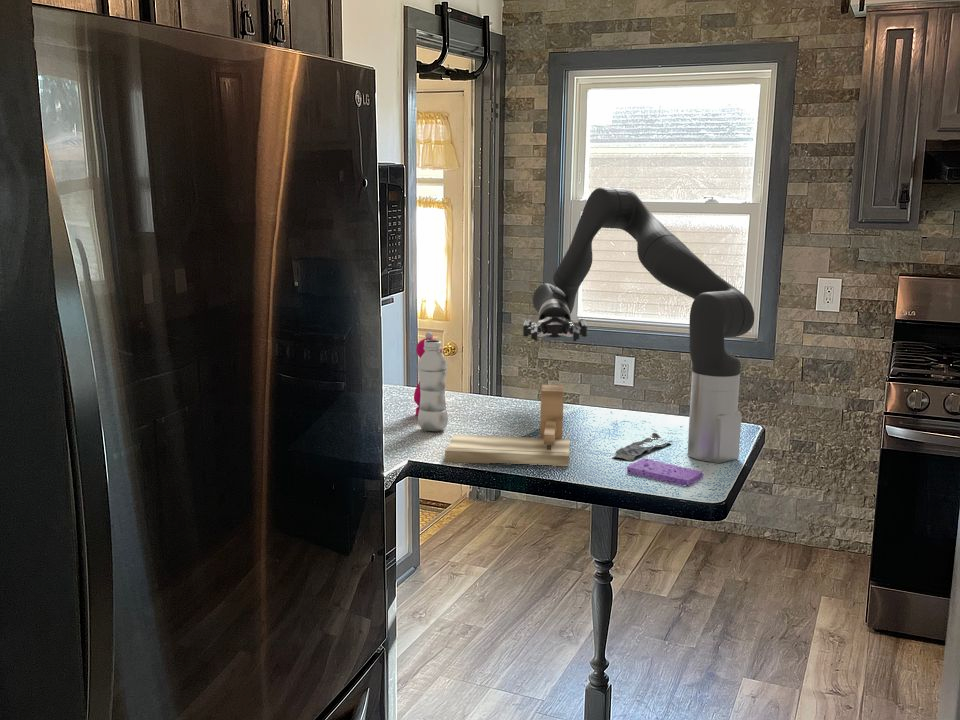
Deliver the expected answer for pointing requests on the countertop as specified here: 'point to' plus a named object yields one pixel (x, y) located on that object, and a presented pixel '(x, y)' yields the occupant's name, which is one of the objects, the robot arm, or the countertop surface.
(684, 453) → the countertop surface
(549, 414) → the block
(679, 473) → the sponges
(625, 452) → the driftwood
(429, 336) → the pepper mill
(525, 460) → the pine board
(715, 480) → the countertop surface
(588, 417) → the countertop surface
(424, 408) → the plastic bottle
